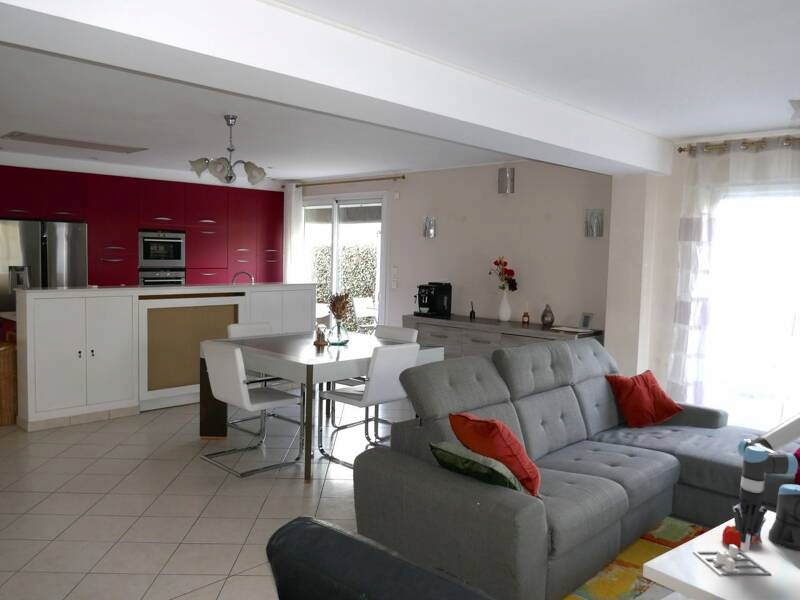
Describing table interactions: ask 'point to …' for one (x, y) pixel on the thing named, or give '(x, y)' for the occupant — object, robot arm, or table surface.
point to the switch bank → (735, 565)
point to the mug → (757, 536)
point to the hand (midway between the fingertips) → (744, 550)
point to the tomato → (731, 536)
